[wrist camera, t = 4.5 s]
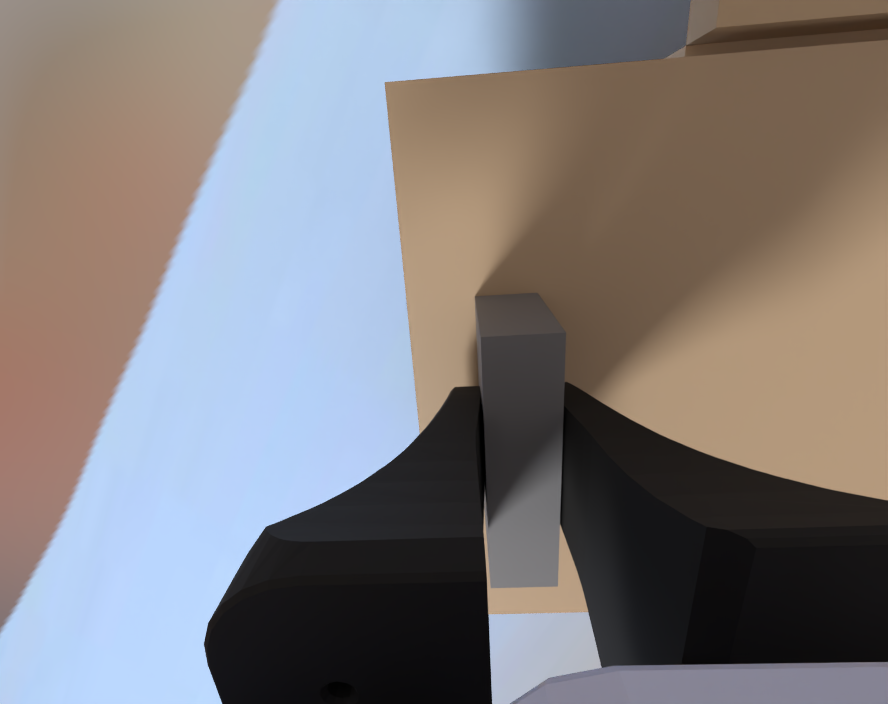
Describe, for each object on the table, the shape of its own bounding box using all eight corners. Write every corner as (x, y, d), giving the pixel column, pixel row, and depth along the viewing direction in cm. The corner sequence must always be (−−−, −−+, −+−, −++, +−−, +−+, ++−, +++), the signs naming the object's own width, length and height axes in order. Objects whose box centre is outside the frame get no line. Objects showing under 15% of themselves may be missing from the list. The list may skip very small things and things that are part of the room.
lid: (925, 584, 14) (1073, 712, 11) (439, 596, 15) (433, 718, 12) (1165, 24, 9) (1609, -75, 5) (389, 89, 10) (351, 37, 6)
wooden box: (943, 489, 20) (1169, 633, 14) (582, 502, 21) (638, 643, 14) (1133, 21, 14) (1718, -117, 7) (606, 65, 14) (722, -24, 8)
